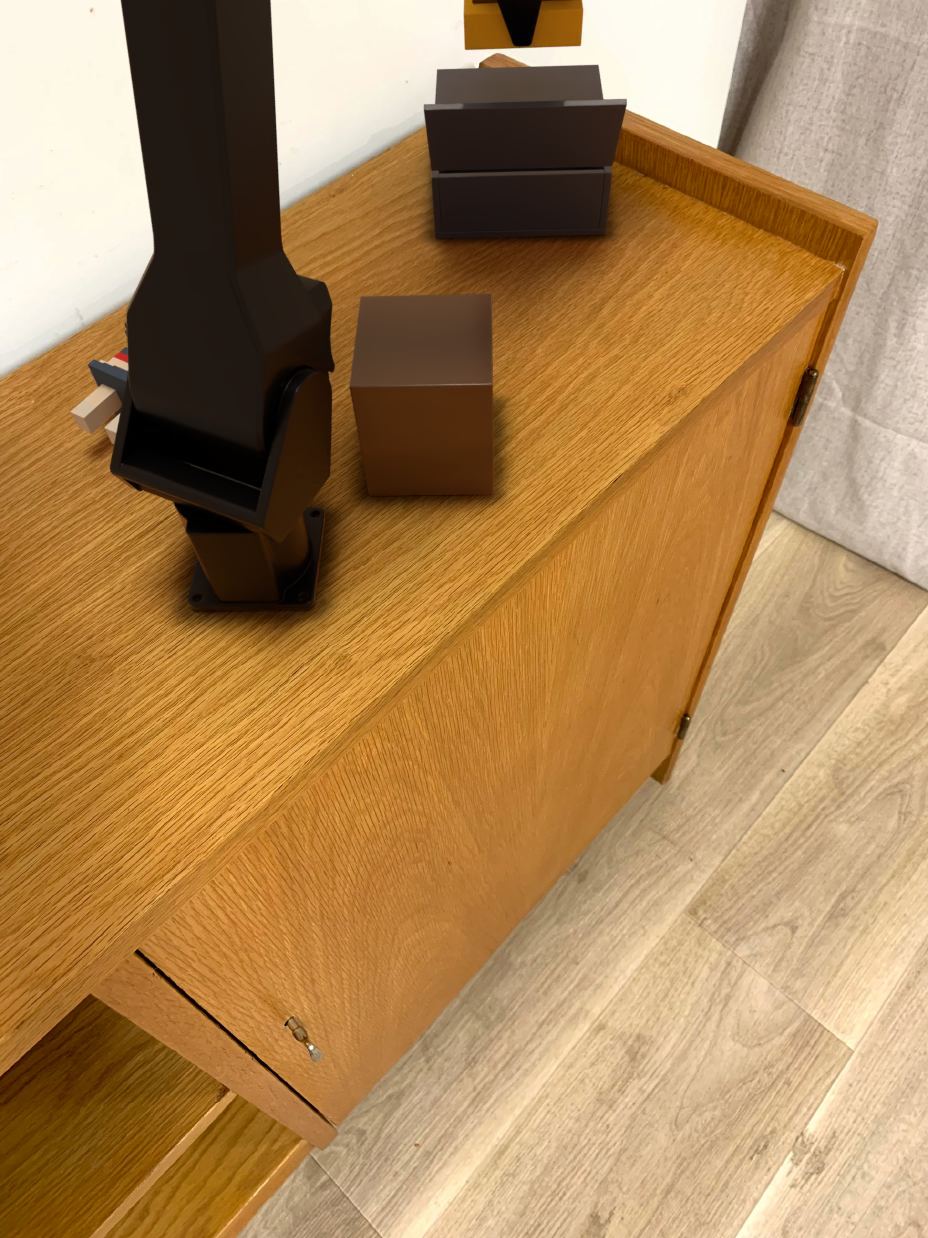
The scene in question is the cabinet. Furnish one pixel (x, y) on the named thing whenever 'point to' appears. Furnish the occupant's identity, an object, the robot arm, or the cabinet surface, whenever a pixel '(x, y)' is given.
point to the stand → (425, 394)
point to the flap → (523, 134)
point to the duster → (552, 29)
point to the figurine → (104, 395)
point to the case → (520, 194)
